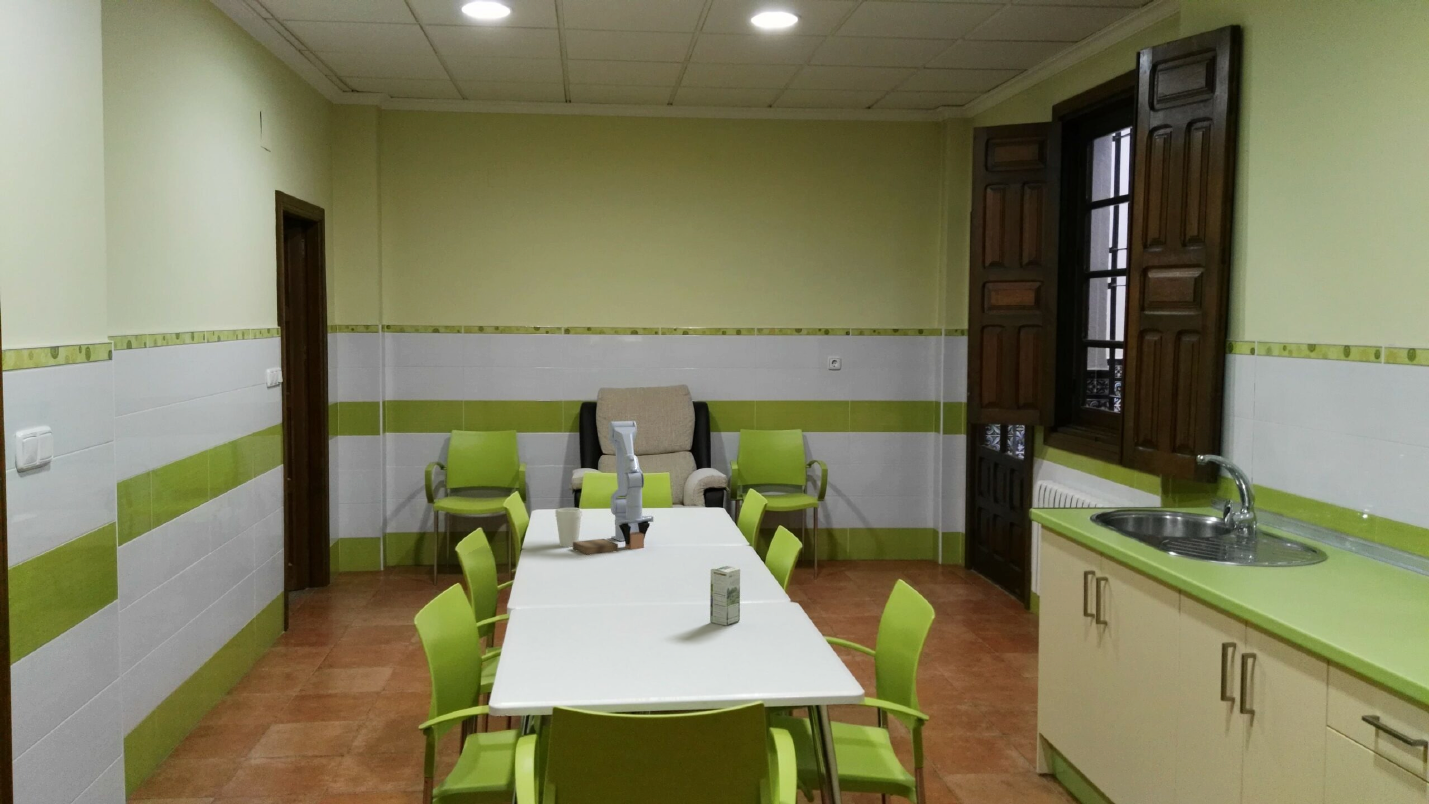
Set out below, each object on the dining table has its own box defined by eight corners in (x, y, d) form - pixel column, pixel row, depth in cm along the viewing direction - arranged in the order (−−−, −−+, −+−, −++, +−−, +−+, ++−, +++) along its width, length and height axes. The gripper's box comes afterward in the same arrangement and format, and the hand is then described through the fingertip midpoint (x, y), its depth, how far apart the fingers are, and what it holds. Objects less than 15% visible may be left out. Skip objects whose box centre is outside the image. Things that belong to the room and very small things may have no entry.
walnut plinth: (603, 546, 383) (603, 538, 383) (618, 552, 373) (617, 543, 373) (573, 550, 377) (572, 541, 377) (586, 556, 367) (586, 547, 367)
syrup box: (723, 617, 284) (723, 564, 283) (740, 621, 280) (740, 567, 279) (709, 622, 280) (709, 568, 279) (727, 626, 276) (727, 571, 275)
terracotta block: (637, 545, 383) (637, 531, 383) (643, 547, 379) (643, 533, 378) (625, 546, 380) (625, 532, 380) (631, 549, 376) (631, 535, 376)
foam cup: (579, 547, 379) (579, 511, 378) (554, 547, 379) (553, 511, 378) (583, 542, 388) (583, 507, 388) (558, 542, 389) (558, 507, 388)
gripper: (620, 509, 371) (621, 547, 372) (657, 505, 379) (657, 542, 380) (612, 506, 378) (612, 543, 378) (648, 502, 385) (648, 539, 386)
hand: (634, 543), depth 379 cm, fingers closed on terracotta block, 5 cm apart
